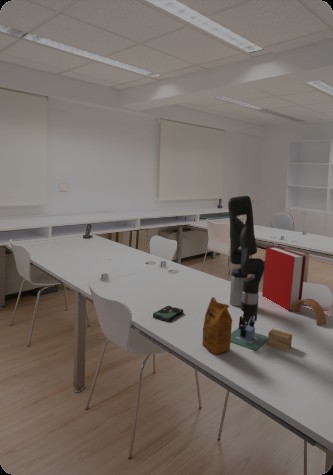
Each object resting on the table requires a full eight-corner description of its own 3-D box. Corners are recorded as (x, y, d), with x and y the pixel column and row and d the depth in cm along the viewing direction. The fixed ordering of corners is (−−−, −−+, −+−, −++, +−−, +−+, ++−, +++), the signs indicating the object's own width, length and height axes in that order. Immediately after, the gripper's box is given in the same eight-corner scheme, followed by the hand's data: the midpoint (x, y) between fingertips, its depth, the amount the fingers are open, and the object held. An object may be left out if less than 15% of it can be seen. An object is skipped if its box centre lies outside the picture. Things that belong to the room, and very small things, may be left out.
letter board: (239, 328, 177) (239, 327, 177) (269, 338, 167) (269, 337, 167) (223, 339, 165) (223, 338, 164) (255, 350, 155) (255, 349, 155)
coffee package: (217, 339, 164) (220, 294, 160) (233, 352, 153) (236, 303, 149) (198, 343, 160) (201, 297, 156) (213, 356, 149) (216, 307, 145)
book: (300, 310, 204) (305, 255, 198) (288, 311, 201) (294, 256, 195) (271, 294, 229) (275, 245, 223) (260, 295, 226) (264, 246, 220)
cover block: (271, 340, 165) (272, 328, 164) (291, 346, 160) (292, 334, 159) (267, 344, 161) (268, 332, 160) (287, 350, 156) (288, 338, 155)
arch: (299, 310, 203) (300, 293, 202) (325, 324, 185) (328, 306, 183) (290, 311, 201) (292, 294, 200) (317, 326, 183) (319, 307, 181)
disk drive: (167, 309, 199) (152, 318, 187) (167, 305, 199) (152, 313, 187) (183, 314, 194) (169, 323, 182) (183, 309, 193) (169, 317, 181)
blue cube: (244, 334, 169) (245, 324, 169) (254, 337, 166) (255, 327, 166) (239, 338, 166) (240, 328, 165) (249, 341, 163) (250, 331, 162)
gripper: (248, 295, 170) (246, 326, 173) (235, 303, 159) (232, 336, 162) (263, 298, 166) (261, 331, 169) (250, 307, 155) (248, 341, 158)
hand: (247, 333), depth 166 cm, fingers open, 8 cm apart
